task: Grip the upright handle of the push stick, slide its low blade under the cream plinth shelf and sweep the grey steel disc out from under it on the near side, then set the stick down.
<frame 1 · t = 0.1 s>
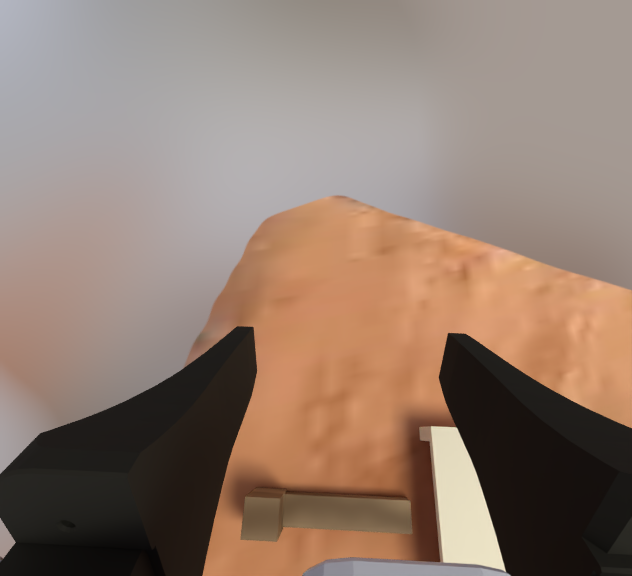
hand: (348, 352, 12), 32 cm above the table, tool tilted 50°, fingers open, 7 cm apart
plinth shelf: (466, 516, 37), on the table
push stick: (270, 505, 38), on the table
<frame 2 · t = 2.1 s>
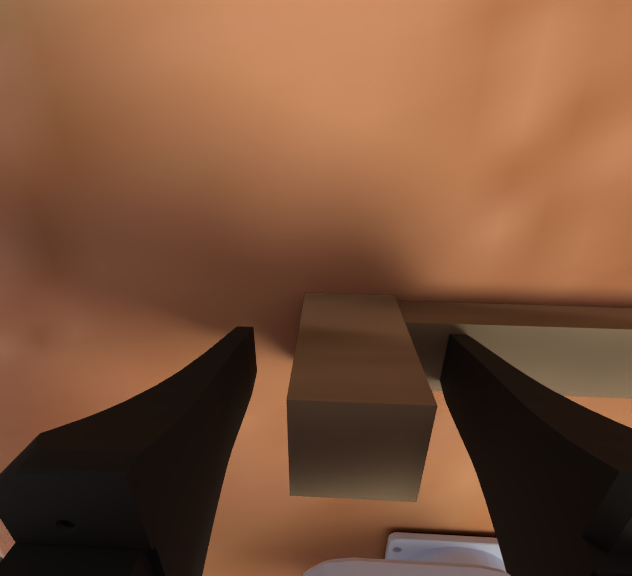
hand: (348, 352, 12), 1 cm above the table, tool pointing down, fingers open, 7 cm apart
push stick: (347, 329, 14), on the table, touching gripper
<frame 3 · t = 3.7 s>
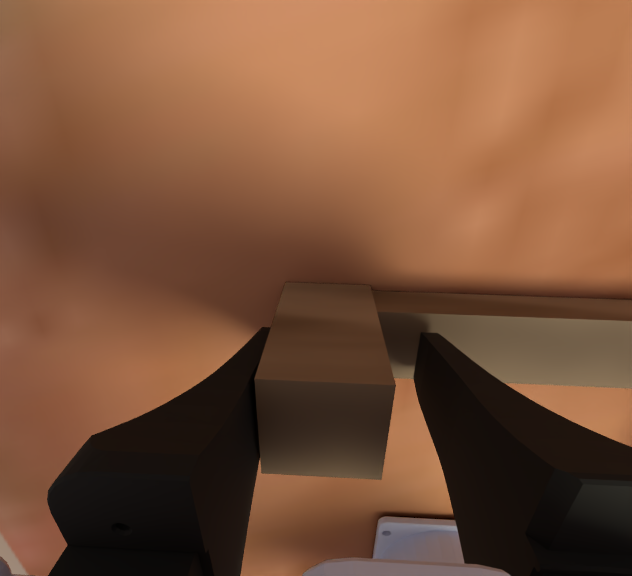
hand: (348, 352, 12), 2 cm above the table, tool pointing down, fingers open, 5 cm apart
push stick: (326, 320, 14), on the table, touching gripper
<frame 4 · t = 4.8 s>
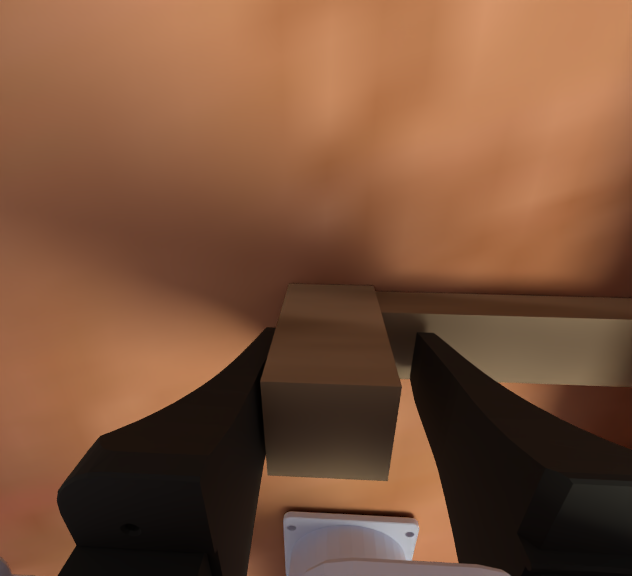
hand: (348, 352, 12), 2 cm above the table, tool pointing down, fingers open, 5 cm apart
push stick: (329, 321, 14), on the table, touching gripper, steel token
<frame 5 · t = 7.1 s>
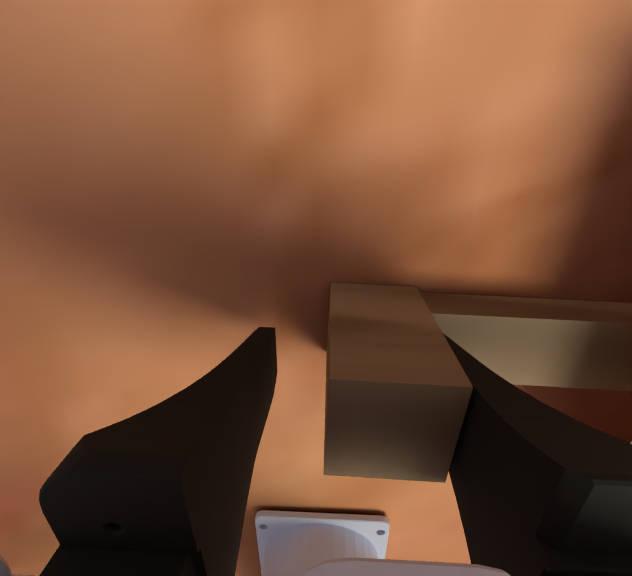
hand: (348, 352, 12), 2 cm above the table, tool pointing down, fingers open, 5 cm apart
push stick: (369, 321, 14), on the table, touching gripper
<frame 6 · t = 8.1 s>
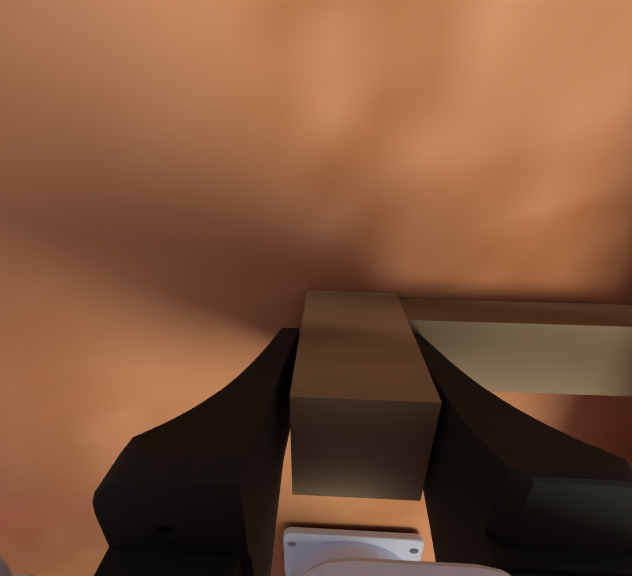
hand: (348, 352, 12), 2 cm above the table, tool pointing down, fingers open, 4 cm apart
push stick: (348, 328, 14), on the table, touching gripper
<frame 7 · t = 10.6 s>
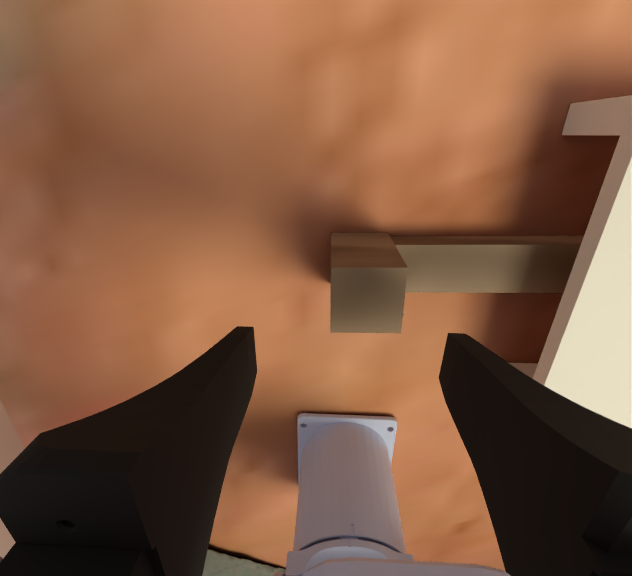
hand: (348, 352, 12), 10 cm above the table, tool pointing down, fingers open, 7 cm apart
plinth shelf: (596, 267, 21), on the table
push stick: (358, 259, 21), on the table
stone slab: (224, 564, 38), on the table
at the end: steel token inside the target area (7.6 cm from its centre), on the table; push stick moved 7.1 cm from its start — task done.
